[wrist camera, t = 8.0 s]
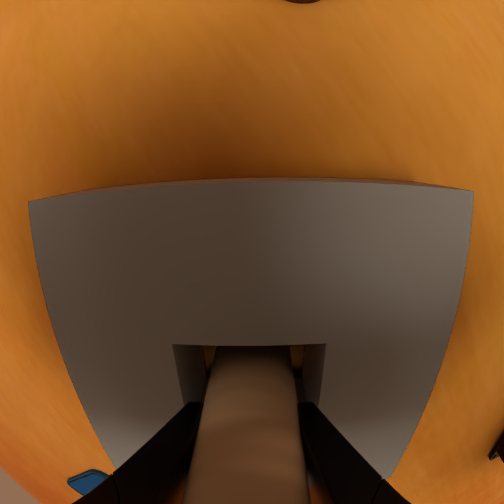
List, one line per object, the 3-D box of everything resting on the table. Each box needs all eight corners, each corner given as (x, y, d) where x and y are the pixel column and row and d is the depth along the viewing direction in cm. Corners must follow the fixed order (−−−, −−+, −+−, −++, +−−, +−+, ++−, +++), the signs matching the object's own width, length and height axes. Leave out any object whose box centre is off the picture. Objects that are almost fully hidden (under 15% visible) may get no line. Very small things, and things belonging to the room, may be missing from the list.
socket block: (415, 182, 10) (474, 191, 6) (371, 427, 13) (390, 477, 9) (87, 189, 10) (28, 201, 7) (140, 428, 13) (121, 477, 10)
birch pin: (291, 319, 10) (336, 611, 1) (288, 379, 11) (310, 617, 2) (213, 320, 10) (139, 602, 1) (219, 379, 11) (179, 613, 2)
